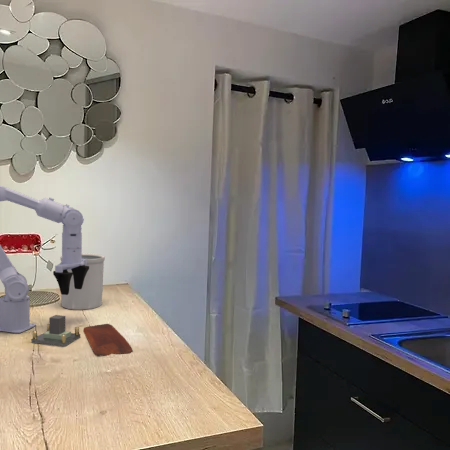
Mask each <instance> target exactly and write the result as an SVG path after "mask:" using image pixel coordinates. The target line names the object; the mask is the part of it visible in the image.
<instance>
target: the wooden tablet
mask: <svg viewBox="0 0 450 450" xmlns="http://www.w3.org/2000/svg"><path fill="white" fill-rule="evenodd" d="M82 331H83V334H84V335H85V337H86V339H87V340H88V343H89V345H90V347H91V349H92V352H93V354H94V355H95V356H96V357H97V358H98V357H99V358H100V357H107V356H110V355H127V354H131V352H132V353H133V351H134V350H133V348H132V346H131V345H130V343H129V341H127V339H126V338H125V337H124V336H123V335H122V334H121V333H120V332H119V331H118V330H117V329H116V327H114V326H113V325H112V324H110V323H103V324H95V325H89V326H85V327H84V328H83V330H82Z"/></svg>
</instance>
